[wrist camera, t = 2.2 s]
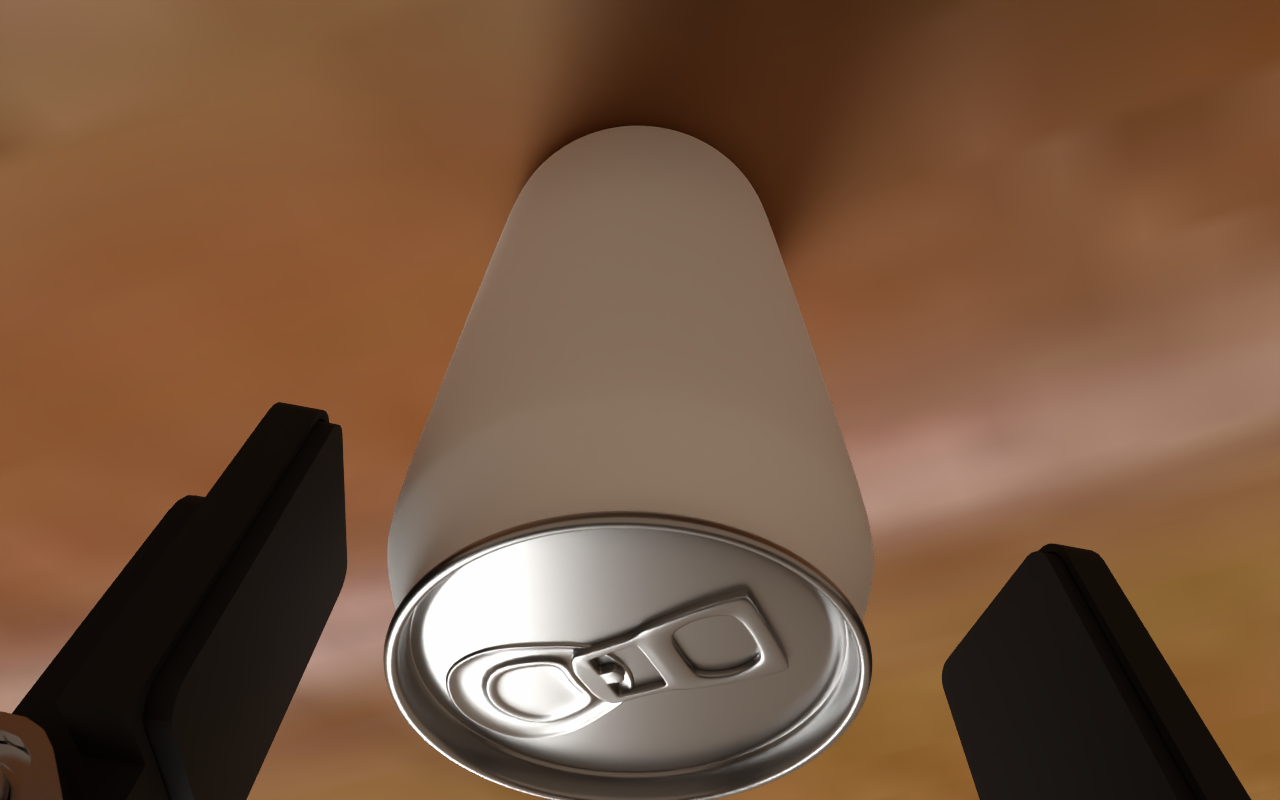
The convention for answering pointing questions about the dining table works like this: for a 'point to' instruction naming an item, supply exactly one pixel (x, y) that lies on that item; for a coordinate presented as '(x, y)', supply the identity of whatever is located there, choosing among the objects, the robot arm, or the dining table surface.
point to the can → (631, 499)
